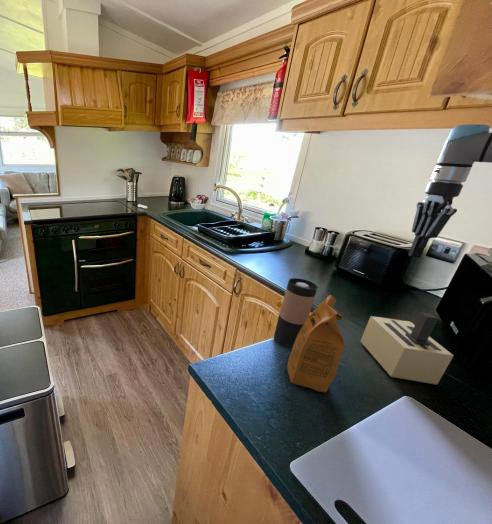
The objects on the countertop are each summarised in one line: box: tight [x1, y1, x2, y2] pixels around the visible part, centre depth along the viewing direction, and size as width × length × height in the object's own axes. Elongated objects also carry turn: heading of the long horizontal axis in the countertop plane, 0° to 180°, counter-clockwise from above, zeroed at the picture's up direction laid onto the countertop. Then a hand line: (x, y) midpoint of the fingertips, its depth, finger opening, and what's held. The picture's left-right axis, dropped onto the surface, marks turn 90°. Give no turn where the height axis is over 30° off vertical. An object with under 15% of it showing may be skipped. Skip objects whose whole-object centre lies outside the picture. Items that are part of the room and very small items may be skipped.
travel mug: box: [273, 277, 319, 349], centre depth 86 cm, size 8×8×20 cm
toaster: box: [359, 315, 454, 385], centre depth 82 cm, size 16×11×10 cm
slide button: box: [405, 312, 439, 346], centre depth 75 cm, size 4×4×8 cm
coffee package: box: [286, 294, 346, 393], centre depth 72 cm, size 10×12×22 cm
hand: (414, 256), depth 94 cm, fingers closed
